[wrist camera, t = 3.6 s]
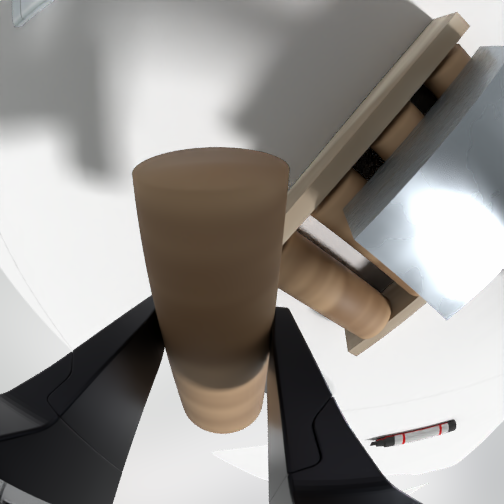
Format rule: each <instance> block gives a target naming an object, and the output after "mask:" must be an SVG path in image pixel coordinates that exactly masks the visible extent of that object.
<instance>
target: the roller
mask: <svg viewBox="0 0 504 504" xmlns="http://www.w3.org/2000/svg"><path fill="white" fill-rule="evenodd" d="M132 176H133V185H134V193H135V201H136V208H137V215H138V222H139V228H140V234H141V240H142V246H143V252H144V257H145V263H146V268H147V273H148V278H149V283H150V287H151V292H152V296H153V301H154V305H155V310H156V314H157V318H158V322H159V326H160V330H161V334H162V338H163V341H164V345H165V348H166V352H167V356H168V360H169V363H170V366H171V369H172V373H173V377H174V379H175V383H176V386H177V389H178V393H179V395H180V398H181V402H182V405H183V408H184V410H185V413H186V414H187V416H188V418H189V419H190V420H191V421H192V422H193V423H194V424H195V425H197V426H198V427H200V428H202V429H204V430H206V431H209V432H213V433H220V434H224V433H233V432H236V431H240V430H242V429H244V428H246V427H247V426H249V425H250V424H251V423H253V422H254V420H255V419H256V418H257V417H258V415H259V413H260V411H261V409H262V404H263V398H264V391H265V384H266V376H267V369H268V361H269V352H270V343H271V334H272V325H273V320H274V315H275V307H276V298H277V289H278V281H279V272H280V263H281V253H282V244H283V234H284V224H285V214H286V203H287V192H288V181H289V165H288V164H287V163H286V162H285V161H284V160H282V159H280V158H278V157H276V156H274V155H271V154H268V153H264V152H260V151H255V150H249V149H241V148H227V147H208V148H193V149H185V150H179V151H173V152H169V153H165V154H161V155H158V156H155V157H152V158H150V159H147V160H145V161H143V162H141V163H140V164H138V165H137V166H136V167H135V168H134V170H133V172H132Z"/></svg>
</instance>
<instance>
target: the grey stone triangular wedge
mask: <svg viewBox="0 0 504 504" xmlns="http://www.w3.org/2000/svg"><path fill="white" fill-rule="evenodd" d="M53 1H54V0H12V18H13V25H14V27H21V26H22V25H24V24H25V23H26V22H27V21H28V20H29V19H31V18H32V17H33V16H34V15H36V14H37V13H38V12H39V11H41V10H42V9H43V8H45V7H46V6H47V5H49V4H50V3H51V2H53Z"/></svg>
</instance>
